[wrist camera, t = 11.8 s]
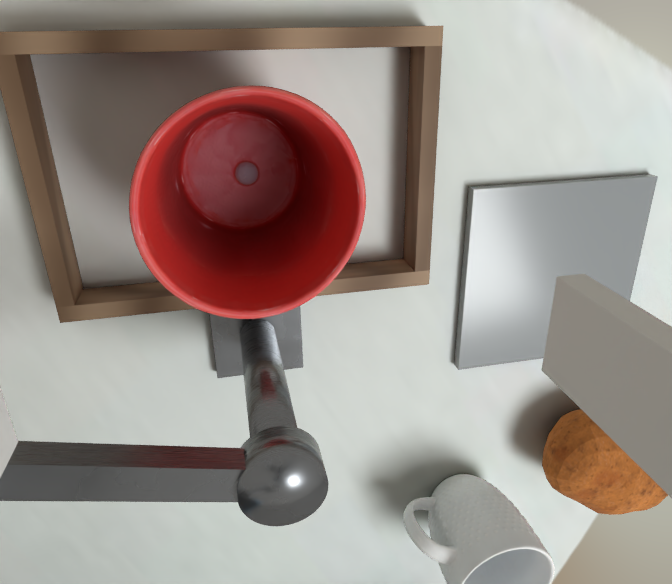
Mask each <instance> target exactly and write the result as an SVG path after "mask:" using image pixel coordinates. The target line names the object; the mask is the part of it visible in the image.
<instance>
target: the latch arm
mask: <svg viewBox="0 0 672 584" xmlns="http://www.w3.org/2000/svg"><path fill="white" fill-rule="evenodd" d="M327 491H328V479H327V475H326V471H325V468H324V464H323V460H322V457H321V453H320V449H319V446H318V444H317V442H316V441H315V439H314V438H313V437H312V436H311V435H310V434H308V433H307V432H305V431H304V430H302V429H299V428H295V427H290V426H277V427H271V428H268V429H265V430H262V431H260V432H258V433H256V434H254V435H253V436H252V437H250V438H249V439H248V440H247V441H246V442H245V443H244V444H243V445H242V447H241V448H216V447H185V446H154V445H124V444H93V443H62V442H32V441H18V443H17V445H16V447H15V449H14V451H13V453H12V455H11V457H10V460H9V462H8V464H7V466H6V468H5V470H4V472H3V474H2V476H1V478H0V501H130V502H238V503H239V506H240V508H241V510H242V512H243V513H244V514H245V515H246V516H247V517H248V518H250V519H251V520H253V521H255V522H257V523H259V524H263V525H268V526H284V525H289V524H293V523H296V522H299V521H301V520H303V519H305V518H307V517H308V516H310V515H311V514H312V513H314V512H315V511H316V510H317V509H318V508H319V507H320V506H321V504H322V503H323V501H324V499H325V497H326V495H327Z"/></svg>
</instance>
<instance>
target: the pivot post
mask: <svg viewBox="0 0 672 584" xmlns="http://www.w3.org/2000/svg"><path fill="white" fill-rule="evenodd" d="M209 314H210V313H209ZM210 322H211V330H212V337H213V345H214V353H215V361H216V369H217V377H218V378H222V377H230V376H238V375H244V382H245V392H246V402H247V411H248V421H249V431H250V437H252V436H253V435H254V434H256V433H258V432H260V431H262V430H265V429H268V428H271V427H277V426H290V427H295V428H297V425H296V420H295V416H294V412H293V407H292V403H291V399H290V394H289V390H288V386H287V381H286V377H285V373H284V370H285V369H293V368H301V367H303V355H302V335H301V315H300V306H298V307H296V308H294V309H292V310H289V311H287V312H284V313H281V314H278V315H274V316H269V317H264V318H256V319H235V318H227V317H221V316H217V315H213V314H210Z"/></svg>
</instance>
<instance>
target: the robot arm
mask: <svg viewBox="0 0 672 584" xmlns="http://www.w3.org/2000/svg"><path fill="white" fill-rule="evenodd" d="M542 371H543V372H544V373H545V374H546V375H547V376H548V377H549V378H550V379H551V380H552V381H553V382H554V383H555V384H556V385H557V386H558V387H559V388H560V389H561V390H562V391H563V392H564V393H565V394H566V395H567V396H568V397H569V398H570V399H571V400H572V401H573V402H574V403H575V404H577V405H578V406H579V407H580V408H581V409H582V410H583V411H584V412H585V413H586V414H587V415H588V416H589V417H590V418H591V419H592V420H593V421H594V422H595V423H596V424H597V425H598V426H599V427H600V428H601V429H602V430H603V431H604V432H605V433H606V434H607V435H608V436H609V437H610V438H611V439H612V440H613V441H614V442H615V443H616V444H617V445H618V446H619V447H620V448H621V449H622V450H623V451H624V452H625V453H626V454H627V455H628V456H629V457H630V458H631V459H632V460H633V461H634V462H635V463H636V464H638V465H639V466H640V467H641V468H642V469H643V470H644V471H645V472H646V473H647V474H648V475H649V476H650V477H651V478H652V479H653V480H654V481H655V482H656V483H657V484H658V485H659V486H660V487H661V488H662V489H663V490H664V491H665V492H666V493H667V494H668V495H669V496H670V497H671V498H672V327H671V326H669V325H668V324H666V323H664V322H663V321H661V320H659V319H658V318H656V317H655V316H653V315H651V314H650V313H648V312H646V311H645V310H643V309H641V308H640V307H638V306H637V305H635V304H633V303H632V302H630V301H628V300H627V299H625V298H623V297H622V296H620V295H619V294H617V293H615V292H614V291H612V290H610V289H609V288H607V287H605V286H604V285H602V284H600V283H599V282H597V281H596V280H594V279H592V278H591V277H589V276H587V275H586V274H577V275H567V276H557V279H556V285H555V291H554V297H553V304H552V310H551V316H550V322H549V328H548V334H547V340H546V346H545V352H544V359H543V365H542ZM17 443H18V439H17V436H16V433H15V430H14V427H13V424H12V421H11V418H10V415H9V412H8V408H7V405H6V402H5V399H4V396H3V393H2V390H1V387H0V478H1V476H2V474H3V472H4V470H5V468H6V466H7V464H8V462H9V460H10V457H11V455H12V453H13V451H14V449H15V447H16V445H17Z"/></svg>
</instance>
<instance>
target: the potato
mask: <svg viewBox="0 0 672 584" xmlns="http://www.w3.org/2000/svg"><path fill="white" fill-rule="evenodd" d="M542 466H543V469H544V472H545V475H546V478H547V480H548V481H549V483H550V485H551V486H552V488H554V489H555V490H557V491H558V492H560V493H561V494H563V495H565V496H567V497H569V498H571V499H573V500H576V501H578V502H579V503H581V504H583V505H585V506H586V507H588V508H590V509H592V510H593V511H595V512H597V513H602V514H624V513H629V512H633V511H641V510H647V509H649V508H652V507H654V506H656V505H658V504H659V503H660V502H661V501H662V500H663V499H664V498H665V497H666V496H668V494H667V493H666V492H665V491H664V490H663V489H662V488H661V487H660V486H659V485H658V484H657V483H656V482H655V481H654V480H653V479H652V478H651V477H650V476H649V475H648V474H647V473H646V472H645V471H644V470H643V469H642V468H641V467H640V466H639V465H638V464H636V463H635V462H634V461H633V460H632V459H631V458H630V457H629V456H628V455H627V454H626V453H625V452H624V451H623V450H622V449H621V448H620V447H619V446H618V445H617V444H616V443H615V442H614V441H613V440H612V439H611V438H610V437H609V436H608V435H607V434H606V433H605V432H604V431H603V430H602V429H601V428H600V427H599V426H598V425H597V424H596V423H595V422H594V421H593V420H592V419H591V418H590V417H589V416H588V415H587V414H586V413H585V412H584V411H583V410H582V409H579V410H574V411H571V412H569V413H567V414H565V415H563V416H561V418H560V419H559V420H558V422H557V423H556V424H555V426H554V427H553V429H552V430H551V431H550V433H549V435H548V438H547V441H546V444H545V447H544V450H543V460H542Z"/></svg>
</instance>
